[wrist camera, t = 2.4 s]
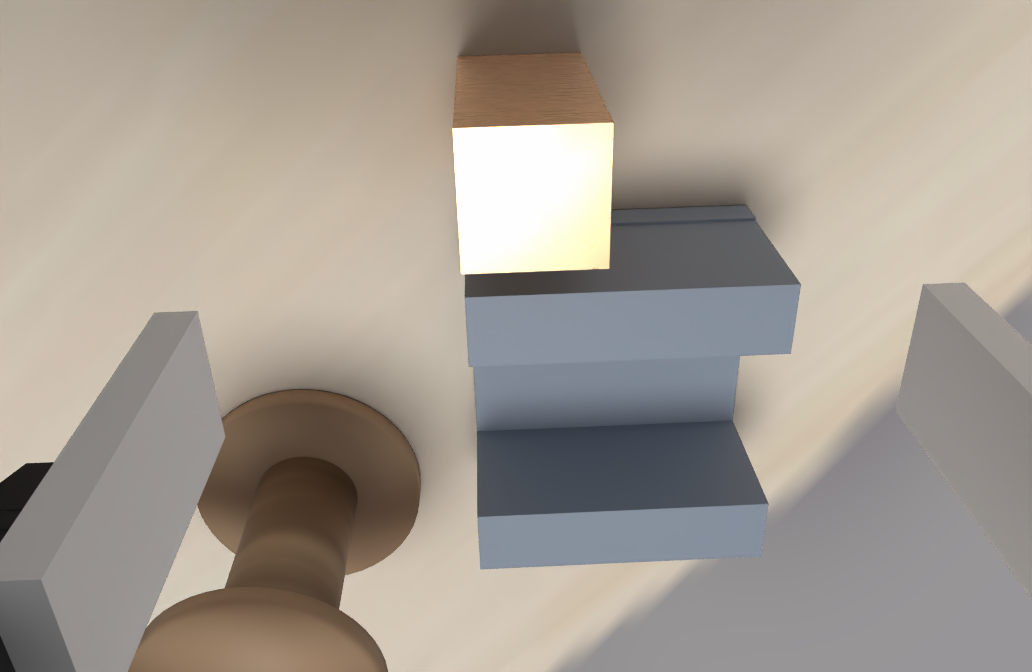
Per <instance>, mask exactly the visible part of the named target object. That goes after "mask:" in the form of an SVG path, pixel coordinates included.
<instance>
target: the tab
mask: <svg viewBox="0 0 1032 672" xmlns="http://www.w3.org/2000/svg"><path fill="white" fill-rule="evenodd" d="M613 126H614V122H613V120H612V118H611V116H610V114H609V112H608V110H607V108H606V105H605V103H604V101H603V99H602V97H601V95H600V93H599V91H598V88H597V86H596V84H595V82H594V80H593V78H592V76H591V73H590V71H589V69H588V67H587V65H586V63H585V61H584V59H583V56H582V54H581V52H576V53H546V54H516V55H485V56H458V59H457V73H456V87H455V101H454V115H453V144H454V161H455V178H456V195H457V212H458V229H459V246H460V262H461V274H483V273H509V272H535V271H561V270H586V269H609V259H610V226H611V193H612V160H613Z"/></svg>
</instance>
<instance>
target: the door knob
mask: <svg viewBox="0 0 1032 672" xmlns="http://www.w3.org/2000/svg"><path fill="white" fill-rule="evenodd" d="M222 424H223V428H224V433H225V439H224V441H223V444H222V446H221V449H220V451H219V454H218V456H217V458H216V461H215V463H214V466H213V468H212V470H211V473H210V475H209V478H208V480H207V482H206V485H205V487H204V490H203V492H202V494H201V497H200V499H199V502H198V504H197V505H198V508H199V511H200V514H201V516H202V517H203V519H204V521H205V523H206V525H207V526H208V527H209V529H210V530H211V532H212V533H213V534H214V535H215V536H216V537H217V539H218V540H219V541H220V542H221V543H222V544H223V545H225V546H226V547H227V548H228V549H229V550H231V551H232V552H233V553H235V554H236V555H235V558H234V561H233V564H232V567H231V570H230V573H229V576H228V580H227V583H226V586H225V589H219V590H214V591H209V592H205V593H202V594H198V595H195V596H192V597H189V598H187V599H185V600H183V601H180V602H178V603H176V604H175V605H173V606H171V607H170V608H168V609H166V610H165V611H163V612H162V613H161V614H160V615H158V616H157V617H156V618H155V619H154V620H153V621H152V622H151V623H150V624H149V625H148V626H147V628H146V629H145V631H144V634H143V636H142V638H141V641H140V643H139V646H138V648H137V650H136V653H135V655H134V658H133V660H132V662H131V665H130V667H129V670H128V672H388V669H387V665H386V661H385V659H384V657H383V654H382V652H381V650H380V648H379V647H378V645H377V644H376V642H375V640H374V639H373V638H372V637H371V636H370V635H369V633H368V632H367V631H366V630H365V629H364V628H363V627H362V626H361V625H359V624H358V623H357V622H356V621H355V620H354V619H352V618H351V617H349V616H348V615H346V614H345V613H343V612H342V611H340V610H339V606H340V600H341V594H342V588H343V582H344V577H345V575H348V574H352V573H355V572H358V571H361V570H364V569H366V568H368V567H371V566H373V565H375V564H376V563H378V562H380V561H382V560H383V559H385V558H386V557H387V556H389V555H390V554H391V553H393V552H394V551H395V550H396V549H397V548H398V547H399V546H400V545H401V544H402V543H403V541H404V540H405V539H406V537H407V536H408V534H409V533H410V531H411V529H412V527H413V525H414V522H415V519H416V516H417V513H418V507H419V498H420V472H419V466H418V463H417V460H416V457H415V454H414V452H413V450H412V448H411V446H410V445H409V443H408V441H407V440H406V439H405V437H404V436H403V434H402V433H401V432H400V431H399V430H398V429H397V428H396V427H395V426H394V425H393V424H392V423H391V422H390V421H389V420H388V419H386V418H385V417H384V416H383V415H381V414H380V413H378V412H377V411H375V410H374V409H372V408H370V407H369V406H367V405H365V404H362V403H360V402H358V401H356V400H354V399H351V398H348V397H345V396H342V395H338V394H334V393H330V392H324V391H316V390H289V391H280V392H275V393H271V394H266V395H263V396H260V397H257V398H255V399H252V400H250V401H248V402H246V403H244V404H242V405H240V406H239V407H237V408H236V409H234V410H233V411H231V412H230V413H229V414H228V415H226V416H225V417H224V418H223V419H222Z"/></svg>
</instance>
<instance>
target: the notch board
mask: <svg viewBox="0 0 1032 672" xmlns="http://www.w3.org/2000/svg"><path fill="white" fill-rule="evenodd" d="M755 220H756V217H755V216H754V215H753V213H752V212H751V210H750V209H749V208H748V206H747V205H734V206H707V207H680V208H653V209H627V210H611V226H610V259H609V269H586V270H561V271H535V272H509V273H483V274H465V310H466V327H467V344H468V362H469V367H474V384H475V402H476V420H477V516H478V534H479V552H480V569H498V568H520V567H541V566H563V565H585V564H606V563H628V562H649V561H671V560H692V559H714V558H735V557H756V556H761V552H762V545H763V538H764V532H765V525H766V518H767V512H768V505H769V504H768V501H767V499H766V497H765V494H764V492H763V490H762V488H761V485H760V483H759V481H758V478H757V476H756V474H755V471H754V469H753V467H752V465H751V462H750V460H749V458H748V455H747V453H746V451H745V448H744V446H743V444H742V441H741V439H740V437H739V435H738V432H737V430H736V428H735V425H734V423H733V421H732V420H733V411H734V402H735V394H736V385H737V376H738V367H739V359H740V356H748V355H772V354H791V348H792V342H793V335H794V328H795V321H796V314H797V308H798V301H799V294H800V287H801V284H800V282H799V281H798V280H797V278H796V277H795V275H794V274H793V273H792V271H791V270H790V268H789V267H788V266H787V264H786V263H785V261H784V260H783V258H782V257H781V256H780V254H779V253H778V251H777V250H776V249H775V247H774V246H773V244H772V243H771V242H770V240H769V239H768V237H767V236H766V235H765V233H764V232H763V230H762V229H761V228H760V226H759V225H758V223H757V222H756V221H755Z"/></svg>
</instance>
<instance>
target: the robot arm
mask: <svg viewBox="0 0 1032 672" xmlns="http://www.w3.org/2000/svg"><path fill="white" fill-rule="evenodd" d="M896 412H897V413H898V415H899V416H900V417H901V419H902V420H903V422H904V423H905V424H906V426H907V427H908V428H909V430H910V431H911V433H912V434H913V435H914V437H915V438H916V439H917V441H918V442H919V444H920V445H921V446H922V448H923V449H924V451H925V452H926V453H927V455H928V456H929V458H930V459H931V460H932V462H933V463H934V465H935V466H936V467H937V468H938V470H939V471H940V473H941V474H942V475H943V477H944V478H945V480H946V481H947V483H948V484H949V485H950V486H951V488H952V489H953V491H954V492H955V494H956V495H957V496H958V498H959V499H960V501H961V502H962V503H963V505H964V506H965V507H966V509H967V510H968V511H969V513H970V514H971V516H972V517H973V519H974V520H975V521H976V523H977V524H978V526H979V527H980V528H981V529H982V531H983V532H984V534H985V535H986V536H987V538H988V539H989V541H990V542H991V544H992V545H993V546H994V548H995V549H996V551H997V552H998V553H999V554H1000V556H1001V558H1002V559H1003V560H1004V562H1005V563H1006V564H1007V566H1008V567H1009V569H1010V570H1011V571H1012V573H1013V574H1014V575H1015V577H1016V578H1017V580H1018V581H1019V582H1020V584H1021V585H1022V587H1023V588H1024V589H1025V591H1026V592H1027V593H1028V595H1029V596H1030V598H1031V599H1032V345H1031V344H1030V343H1029V342H1028V341H1027V340H1026V339H1025V338H1024V337H1022V336H1021V335H1020V334H1019V333H1018V332H1017V331H1016V330H1015V329H1014V328H1013V327H1012V326H1011V325H1010V324H1009V323H1007V322H1006V321H1005V320H1004V319H1003V318H1002V317H1001V316H1000V315H999V314H998V313H997V312H996V311H995V310H993V309H992V308H991V307H990V306H989V305H988V304H987V303H986V302H985V301H984V300H983V299H982V298H981V297H979V296H978V295H977V294H976V293H975V292H974V291H973V290H972V289H971V288H970V287H969V286H968V285H967V284H965V283H944V284H923V287H922V291H921V296H920V300H919V305H918V310H917V314H916V319H915V323H914V328H913V332H912V337H911V341H910V346H909V350H908V355H907V359H906V364H905V369H904V373H903V378H902V382H901V387H900V391H899V396H898V400H897V405H896ZM224 439H225V433H224V428H223V424H222V419H221V415H220V410H219V406H218V401H217V397H216V392H215V388H214V383H213V379H212V374H211V369H210V365H209V360H208V356H207V351H206V347H205V342H204V338H203V333H202V329H201V324H200V320H199V315H198V311H188V312H161V313H154V314H153V316H152V317H151V319H150V320H149V322H148V323H147V325H146V326H145V328H144V329H143V331H142V332H141V334H140V335H139V337H138V338H137V340H136V341H135V343H134V344H133V346H132V347H131V349H130V350H129V352H128V353H127V354H126V356H125V357H124V359H123V360H122V362H121V363H120V365H119V366H118V368H117V369H116V371H115V372H114V374H113V375H112V377H111V378H110V380H109V381H108V383H107V384H106V386H105V387H104V389H103V390H102V392H101V393H100V395H99V396H98V398H97V399H96V401H95V402H94V404H93V405H92V407H91V408H90V410H89V411H88V413H87V414H86V416H85V417H84V419H83V420H82V422H81V423H80V425H79V426H78V428H77V429H76V431H75V432H74V433H73V435H72V436H71V438H70V439H69V441H68V442H67V444H66V445H65V447H64V448H63V450H62V451H61V453H60V454H59V456H58V457H57V459H56V460H55V462H50V463H26V464H25V465H24V466H22V467H21V468H20V469H18V470H17V471H15V472H14V473H13V474H11V475H10V476H9V477H7V478H6V479H5V480H3V481H2V482H1V483H0V672H128V670H129V667H130V665H131V662H132V660H133V658H134V655H135V653H136V650H137V648H138V646H139V643H140V641H141V638H142V636H143V634H144V631H145V629H146V626H147V624H148V622H149V619H150V617H151V614H152V612H153V610H154V607H155V605H156V602H157V600H158V598H159V595H160V593H161V590H162V588H163V586H164V583H165V581H166V578H167V576H168V574H169V571H170V569H171V566H172V564H173V562H174V559H175V557H176V554H177V552H178V550H179V547H180V545H181V542H182V540H183V538H184V535H185V533H186V530H187V528H188V526H189V523H190V521H191V518H192V516H193V514H194V511H195V509H196V506H197V504H198V502H199V499H200V497H201V494H202V492H203V490H204V487H205V485H206V482H207V480H208V478H209V475H210V473H211V470H212V468H213V466H214V463H215V461H216V458H217V456H218V454H219V451H220V449H221V446H222V444H223V441H224Z"/></svg>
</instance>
